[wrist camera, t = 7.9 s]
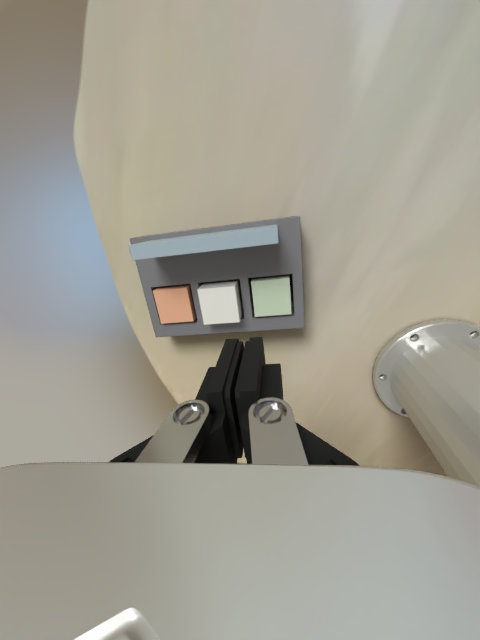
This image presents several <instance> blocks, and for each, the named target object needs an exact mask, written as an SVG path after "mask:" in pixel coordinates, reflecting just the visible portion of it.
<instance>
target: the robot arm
mask: <svg viewBox="0 0 480 640" xmlns="http://www.w3.org/2000/svg"><path fill="white" fill-rule="evenodd" d="M372 377H373V385H374V387H375V390H376V392H377V394H378V396H379V397H380V399H381V401H382V402H383V403H384V404H385V405H386V406H387V407H388V408H389V409H391V410H392V411H393V412H395V413H397V414H399V415H401V416H404V417H407V418H410V419H411V421H412V422H413V424H414V425H415V427H416V428H417V430H418V432H419V433H420V435H421V436H422V438H423V439H424V441H425V442H426V444H427V445H428V447H429V448H430V450H431V451H432V453H433V454H434V456H435V457H436V459H437V461H438V462H439V464H440V465H441V467H442V468H443V470H444V471H445V473H446V474H447V476H448V477H447V476H443V475H438V474H433V473H428V472H424V471H418V470H410V469H401V468H390V467H370V466H359V465H358V464H357V463H356V462H355V461H353V460H352V459H351V458H349V457H348V456H346V455H345V454H343V453H342V452H340V451H339V450H337V449H336V448H334V447H332V446H331V445H329V444H328V443H326V442H325V441H323V440H322V439H320V438H319V437H317V436H316V435H314V434H313V433H311V432H310V431H308V430H307V429H305V428H304V427H302V426H301V425H299V424H298V423H296V422H295V419H294V416H293V413H292V409H291V407H290V405H289V404H288V403H287V402H285V401H284V400H283V388H282V376H281V366H280V364H265V355H264V347H263V339H262V337H255V338H250V341H246V343H245V347H244V345H243V341H241V342H239V340H238V339H226V341H225V343H224V346H223V349H222V351H221V354H220V356H219V359H218V362H217V364H216V367H210V368H209V369H208V371H207V373H206V376H205V378H204V380H203V383H202V385H201V387H200V390H199V392H198V394H197V397H196V399H195V400H189V401H185V402H183V403H181V404H179V405H178V406H176V407H175V408H174V409H173V410H172V411H171V412H170V414H169V415H168V416H167V418H166V419H165V420H164V422H163V423H162V425H161V426H160V427H159V429H158V430H157V432H156V433H155V435H153V436H151V437H150V438H148V439H146V440H145V441H143V442H142V443H139V444H138V445H136V446H134V447H133V448H131V449H129V450H128V451H126V452H124V453H122V454H121V455H119V456H117V457H115V458H114V459H113V460H111V461H110V462H52V463H51V462H50V463H29V464H19V465H11V466H6V467H1V468H0V640H480V328H479V327H477V326H475V325H473V324H471V323H468V322H464V321H461V320H453V319H439V320H431V321H427V322H422V323H419V324H417V325H414V326H412V327H409V328H408V329H406V330H404V331H402V332H400V333H399V334H397V335H396V336H395V337H394V338H392V339H391V340H390V341H389V342H388V343H387V344H386V345H385V346H384V347H383V349H382V350H381V352H380V353H379V355H378V356H377V358H376V361H375V364H374V367H373V374H372ZM243 447H244V452H245V457H246V459H247V464H237V458H242V455H243Z"/></svg>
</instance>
